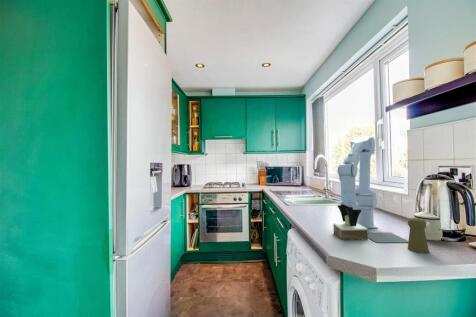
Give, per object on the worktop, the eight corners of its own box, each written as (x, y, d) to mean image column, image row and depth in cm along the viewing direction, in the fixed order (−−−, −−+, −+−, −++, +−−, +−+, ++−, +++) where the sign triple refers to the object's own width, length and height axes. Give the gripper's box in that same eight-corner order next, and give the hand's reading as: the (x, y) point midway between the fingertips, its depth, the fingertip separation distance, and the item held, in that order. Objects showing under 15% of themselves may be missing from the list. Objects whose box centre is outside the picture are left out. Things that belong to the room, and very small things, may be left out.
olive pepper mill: (433, 253, 79) (431, 220, 79) (413, 252, 80) (411, 220, 81) (422, 247, 85) (421, 216, 85) (404, 246, 86) (402, 216, 86)
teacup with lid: (415, 233, 102) (413, 206, 103) (442, 236, 97) (441, 208, 97) (414, 240, 93) (413, 210, 93) (445, 244, 87) (443, 213, 88)
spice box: (333, 233, 105) (333, 224, 105) (356, 233, 104) (356, 223, 104) (342, 240, 95) (341, 230, 95) (367, 240, 94) (367, 230, 94)
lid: (333, 225, 105) (333, 213, 105) (356, 225, 104) (355, 213, 104) (342, 232, 95) (341, 218, 95) (367, 232, 94) (366, 218, 95)
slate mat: (360, 233, 104) (360, 232, 104) (391, 233, 103) (390, 232, 103) (376, 242, 91) (376, 242, 91) (411, 242, 90) (411, 242, 90)
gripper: (332, 190, 108) (333, 219, 107) (345, 193, 93) (346, 228, 93) (348, 189, 107) (349, 219, 107) (363, 193, 93) (364, 228, 92)
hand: (349, 223), depth 100 cm, fingers open, 7 cm apart
